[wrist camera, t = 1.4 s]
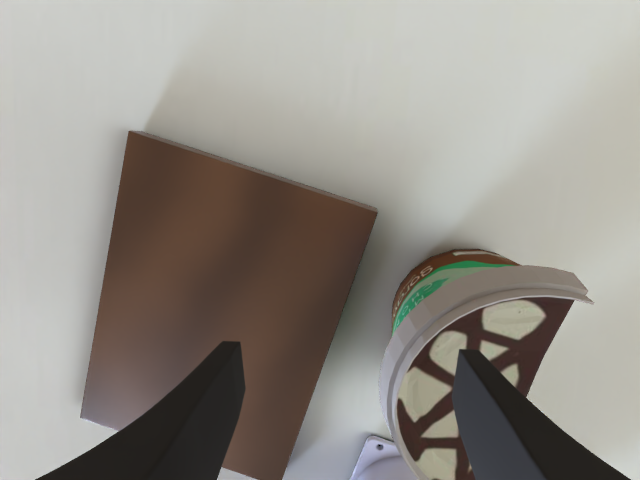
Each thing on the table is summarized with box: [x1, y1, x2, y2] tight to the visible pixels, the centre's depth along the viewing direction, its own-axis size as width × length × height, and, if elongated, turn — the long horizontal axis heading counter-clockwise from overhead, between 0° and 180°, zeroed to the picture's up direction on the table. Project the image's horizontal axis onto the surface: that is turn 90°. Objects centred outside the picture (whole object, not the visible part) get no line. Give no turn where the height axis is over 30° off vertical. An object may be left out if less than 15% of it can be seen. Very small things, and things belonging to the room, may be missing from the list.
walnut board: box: [80, 131, 378, 480], centre depth 27 cm, size 16×22×2 cm
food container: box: [379, 249, 594, 480], centre depth 21 cm, size 12×6×10 cm, turn 162°
